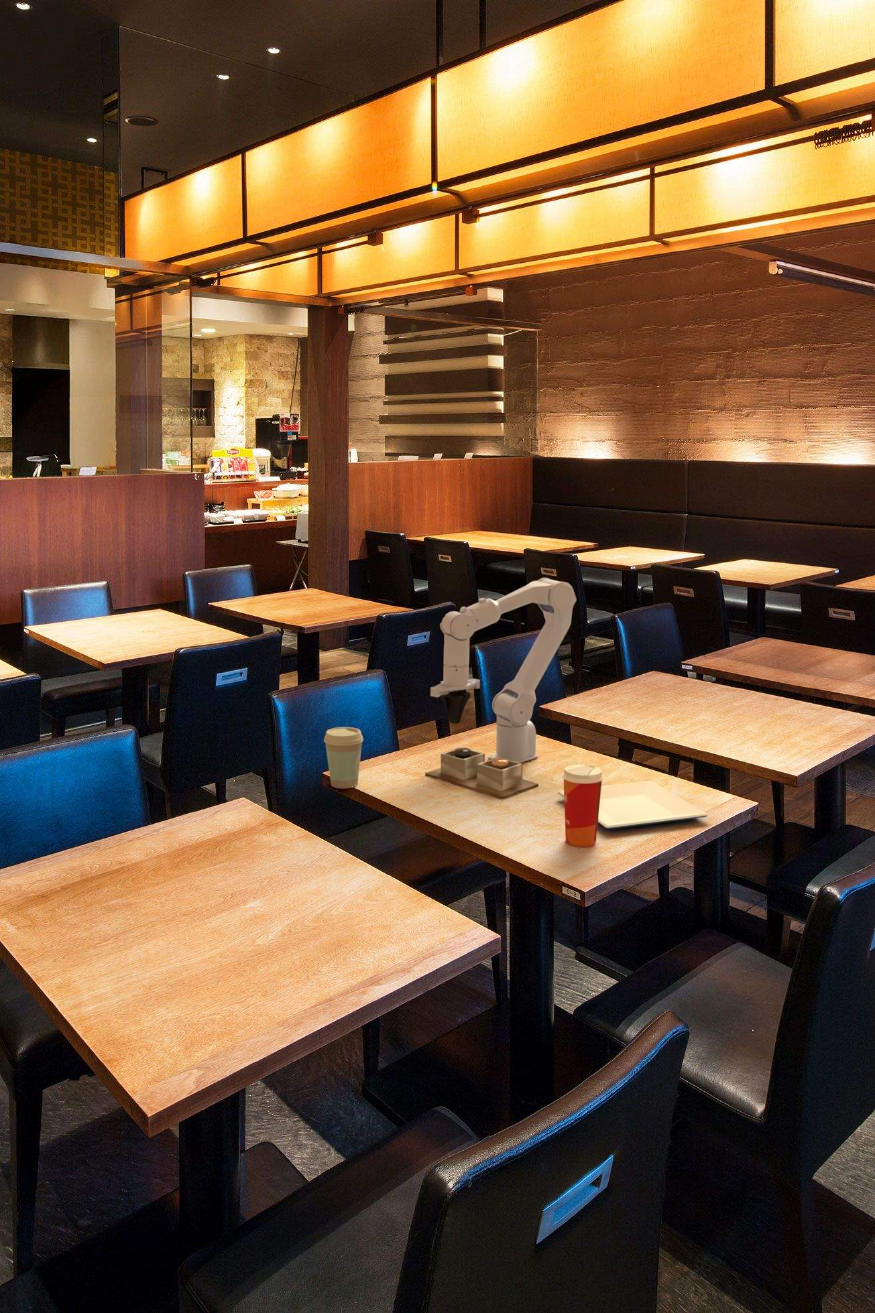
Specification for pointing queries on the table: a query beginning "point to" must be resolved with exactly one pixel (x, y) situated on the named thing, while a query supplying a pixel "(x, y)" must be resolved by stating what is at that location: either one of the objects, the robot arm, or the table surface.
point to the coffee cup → (343, 756)
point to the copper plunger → (500, 763)
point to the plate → (641, 805)
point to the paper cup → (581, 804)
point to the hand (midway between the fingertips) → (454, 722)
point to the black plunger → (462, 753)
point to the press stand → (482, 775)
